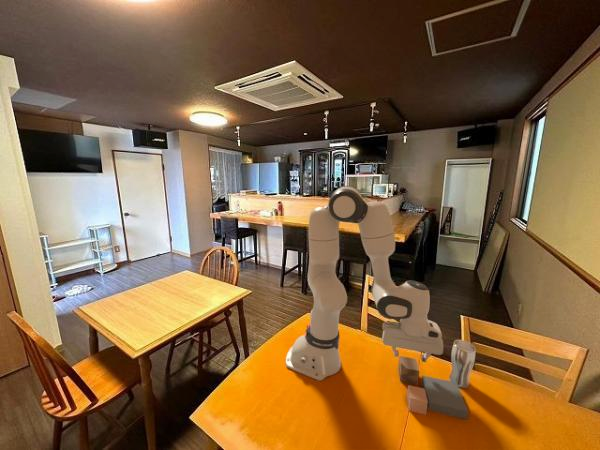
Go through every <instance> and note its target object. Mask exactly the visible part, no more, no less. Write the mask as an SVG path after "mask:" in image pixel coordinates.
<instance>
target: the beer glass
mask: <svg viewBox="0 0 600 450" xmlns="http://www.w3.org/2000/svg"><path fill="white" fill-rule="evenodd" d="M476 350H477V349H476V347H475V345H473V344H472V343H471V342H468V341H466V340H463V339H456V340H454V341H453V345H452V349H451V354H450V355H451V358H450V359H451V372H450V374H449V381H451V382H456V383H457V385H458V387H459V389H460V388H461V389H467V388H469V387H470V374H471V372H472V370H473V367H474V365H475V360H476Z"/></svg>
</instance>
